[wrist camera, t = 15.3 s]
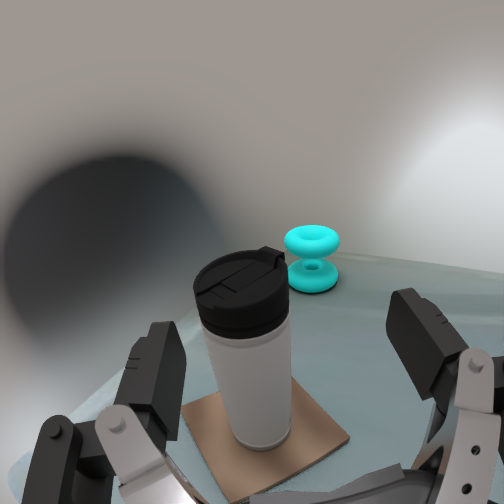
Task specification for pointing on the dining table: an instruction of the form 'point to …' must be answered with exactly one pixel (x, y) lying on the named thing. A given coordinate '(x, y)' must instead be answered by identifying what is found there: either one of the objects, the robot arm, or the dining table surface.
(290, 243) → the cyan spool
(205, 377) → the dining table surface
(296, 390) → the walnut board
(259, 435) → the travel mug
